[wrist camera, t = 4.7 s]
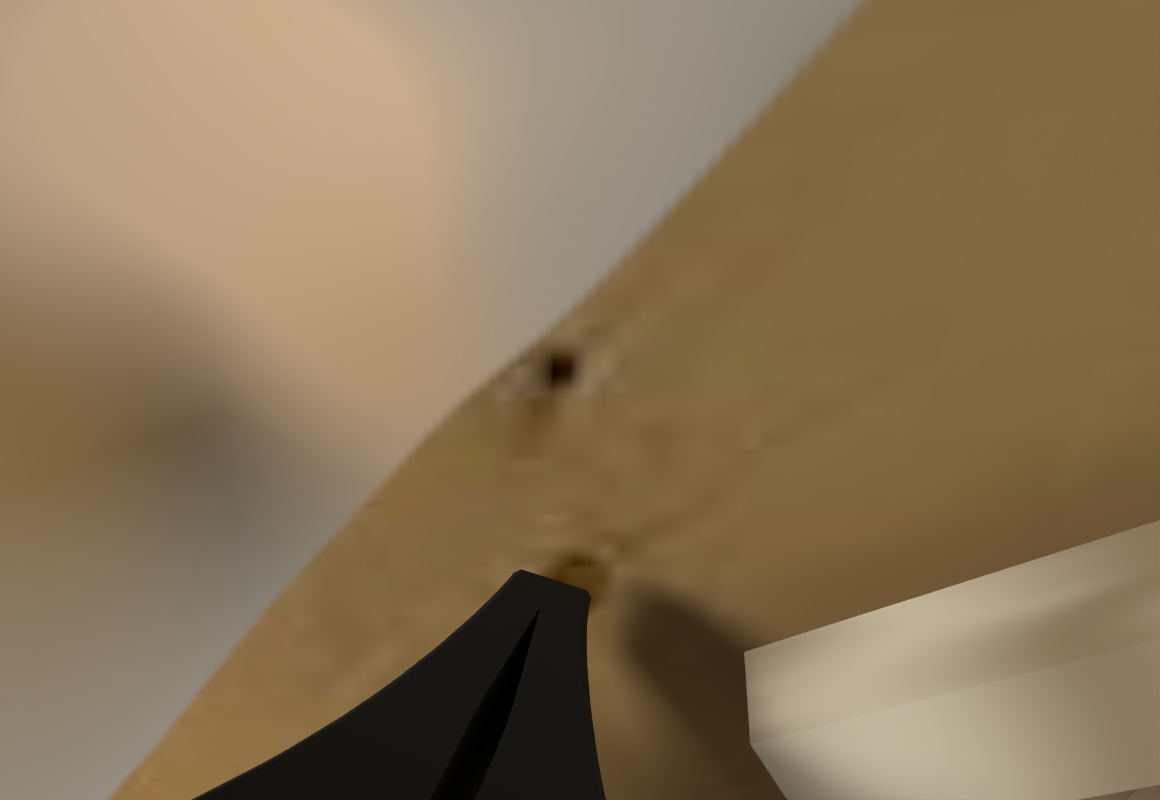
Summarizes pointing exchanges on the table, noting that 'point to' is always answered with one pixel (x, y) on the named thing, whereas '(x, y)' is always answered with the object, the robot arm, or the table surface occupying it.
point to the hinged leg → (976, 687)
